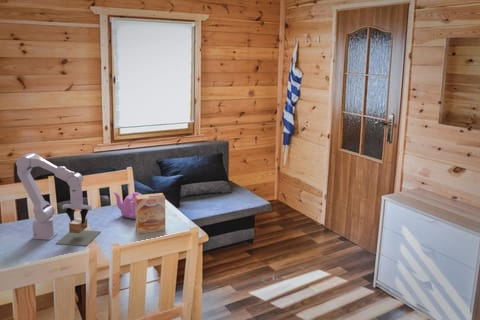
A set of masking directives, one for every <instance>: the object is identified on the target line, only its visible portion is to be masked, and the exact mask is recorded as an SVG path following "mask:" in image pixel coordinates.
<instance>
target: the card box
mask: <svg viewBox="0 0 480 320" xmlns="http://www.w3.org/2000/svg"><path fill="white" fill-rule="evenodd" d="M87 228H88V218H87V217H86V218H85V223H84V224H82V220H81V216H80V217H79V216H78V217H76V218H74V220H73V221H72V222H71V221H70V222H69V224H68V229H69V231H68V233H80V232H82V231H83V230H86V229H87Z"/></svg>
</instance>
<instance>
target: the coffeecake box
mask: <svg viewBox="0 0 480 320" xmlns="http://www.w3.org/2000/svg"><path fill="white" fill-rule="evenodd" d="M135 213H136V219H135V230H136V233H137V235H139V234H148V233H157V232H164V231H166V196H165V195H164V193H163V192H159V193H158V192H157V193H147V194H142V195H135Z"/></svg>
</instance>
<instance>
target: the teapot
mask: <svg viewBox="0 0 480 320" xmlns="http://www.w3.org/2000/svg"><path fill="white" fill-rule="evenodd" d="M112 194H114V195H115V198H116V205H117V206H116V207H117V208H118V209H119V210H120V214H121V215H122V216H123V217H124V218H127V219H131V220H132V219H133V220H136V213H135V195H143V194H142V193H141V192H137V191H135V192H132V193H131V194H128V195H126V197H125V198H124V200H123V202H122V201H121V197H120V194H119V193H118V192H114V191H113V192H112Z"/></svg>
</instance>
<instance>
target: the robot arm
mask: <svg viewBox="0 0 480 320" xmlns="http://www.w3.org/2000/svg"><path fill="white" fill-rule="evenodd" d="M15 165H16V170H17V172H16V174H17V176H18V178H19V180H20V181H21V183H22V185H23V188H24V190H25V191H26V193H27V194H28V197H29V199H30V200H31V202H32V205H33V210H32V212H33V213H34V219H35V220H33V222H32V239H33V240H35V239H36V240H48V241H49V240H52V239H53V238H54V237H56V236H57V235H58V232H54V231H55V229H54V220H53V219H54V218H53V216H54V215H55V209H54V206H52V205H51V204H50V202H49V201H46V200H45V198H44V196H43V195H42V193H41V190H40V189H39V187H38V184H37V183H36V182H35V179H34V178H33V176H32V174H31V171H32V170H33V168H36V167H37V168H38V167H40V168H42V169H44V170H47V171H48V172H51V173H53V174H54V176H55V177H56V178H58V179H60V180H62V181H64V182H66V183H67V185H68V186H69V194H70V203H64V204H63V205H61V207H62V208H61V209H62V210H65V209H66V210H65V213H66V214H67V216H68V218H69V220H70V222H72V221H73V220H75V210H80V211H79V214H80V217H81V220H82V224H84V223H85V218H87V215H88V213H89V211H92V208H93V206H92V205H88V204H83V203H84V200H83V185H82V182H83V181H84V176H83V175H82V174H81V173H80V172H77V171H76V172H75V171H72V170H69V169H67V166H62V165H60V166H58V165H56V164H53V163H51V162H50V161H48V160H46V159H44V158H43V157H41V156H40V154H37V153H36V152H27V153H26V154H23V155H21V156H19V157H17V159H16V161H15Z"/></svg>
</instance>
